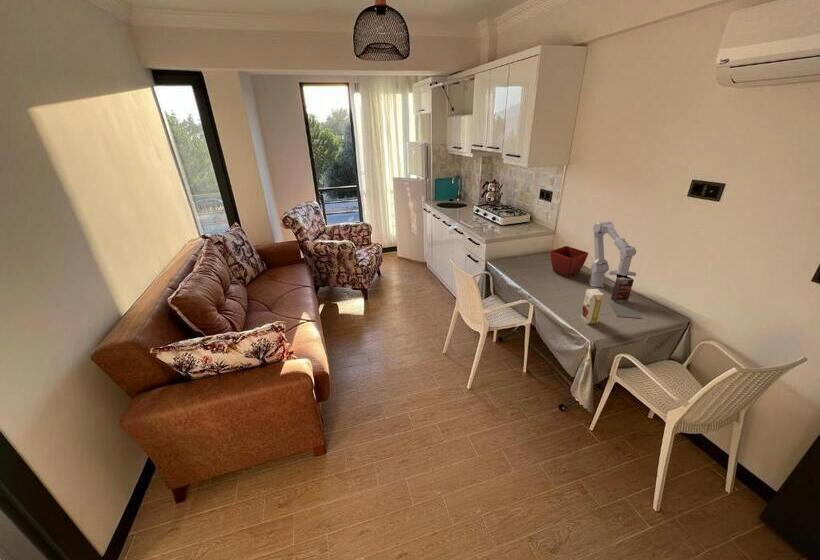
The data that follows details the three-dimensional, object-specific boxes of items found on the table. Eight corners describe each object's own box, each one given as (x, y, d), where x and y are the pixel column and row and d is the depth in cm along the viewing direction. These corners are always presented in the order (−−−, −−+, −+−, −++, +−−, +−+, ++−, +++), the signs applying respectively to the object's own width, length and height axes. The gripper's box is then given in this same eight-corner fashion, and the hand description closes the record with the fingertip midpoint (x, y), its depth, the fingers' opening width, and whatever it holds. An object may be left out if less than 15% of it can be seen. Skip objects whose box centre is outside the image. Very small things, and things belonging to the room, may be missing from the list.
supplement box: (615, 303, 205) (621, 281, 198) (610, 300, 209) (615, 277, 202) (628, 302, 206) (634, 279, 199) (622, 298, 210) (628, 276, 203)
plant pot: (568, 280, 237) (572, 258, 230) (546, 271, 252) (549, 251, 245) (585, 273, 246) (589, 252, 238) (562, 265, 261) (566, 245, 253)
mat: (609, 303, 206) (609, 302, 206) (632, 305, 203) (632, 304, 202) (617, 316, 192) (617, 316, 192) (642, 318, 189) (642, 318, 189)
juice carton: (591, 316, 193) (598, 287, 185) (599, 324, 186) (606, 295, 177) (578, 317, 193) (584, 288, 185) (586, 325, 185) (592, 295, 177)
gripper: (613, 267, 201) (608, 287, 207) (639, 268, 198) (634, 288, 204) (609, 263, 208) (605, 282, 213) (635, 264, 204) (630, 283, 210)
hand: (619, 285), depth 209 cm, fingers closed
